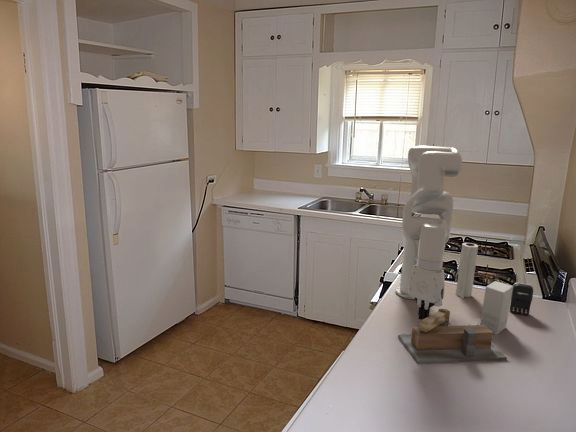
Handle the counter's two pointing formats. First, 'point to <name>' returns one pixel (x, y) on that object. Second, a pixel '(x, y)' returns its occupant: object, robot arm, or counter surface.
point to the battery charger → (521, 298)
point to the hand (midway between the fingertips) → (423, 318)
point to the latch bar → (434, 320)
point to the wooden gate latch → (452, 344)
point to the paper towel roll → (466, 269)
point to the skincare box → (496, 306)
